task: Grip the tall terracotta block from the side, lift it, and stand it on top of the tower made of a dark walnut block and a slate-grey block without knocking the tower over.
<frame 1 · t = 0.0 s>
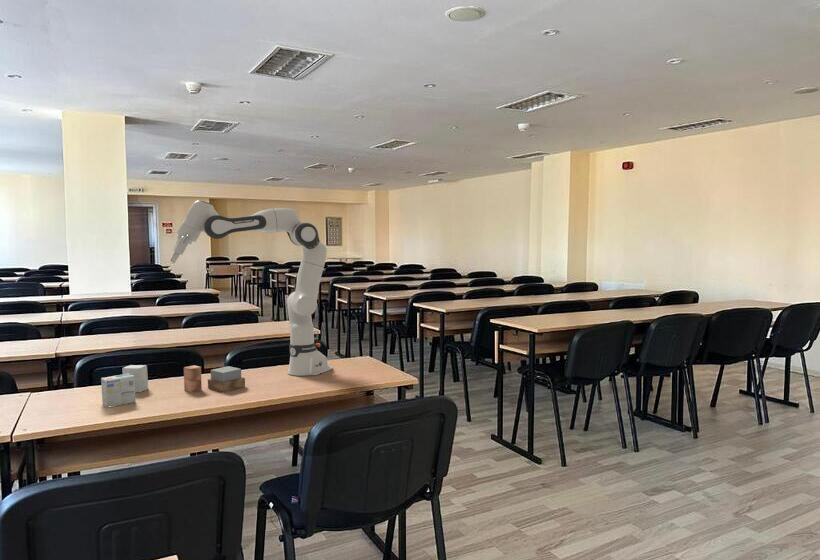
hand: (172, 262, 239), 54 cm above the table, tool tilted 30°, fingers open, 8 cm apart
walnut base block: (226, 388, 239), on the table, touching grey top block
small box: (135, 391, 235), on the table
grey top block: (226, 378, 239), point 4 cm above the table, touching walnut base block
light bulb box: (119, 404, 217), on the table
terracotta block: (193, 390, 235), on the table
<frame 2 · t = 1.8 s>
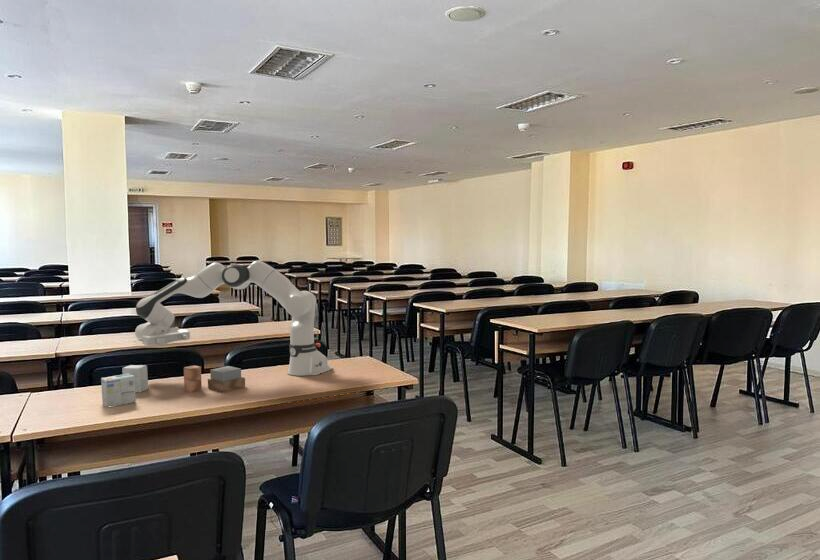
hand: (175, 339, 241), 20 cm above the table, tool horizontal, fingers open, 8 cm apart
nothing on the table moved.
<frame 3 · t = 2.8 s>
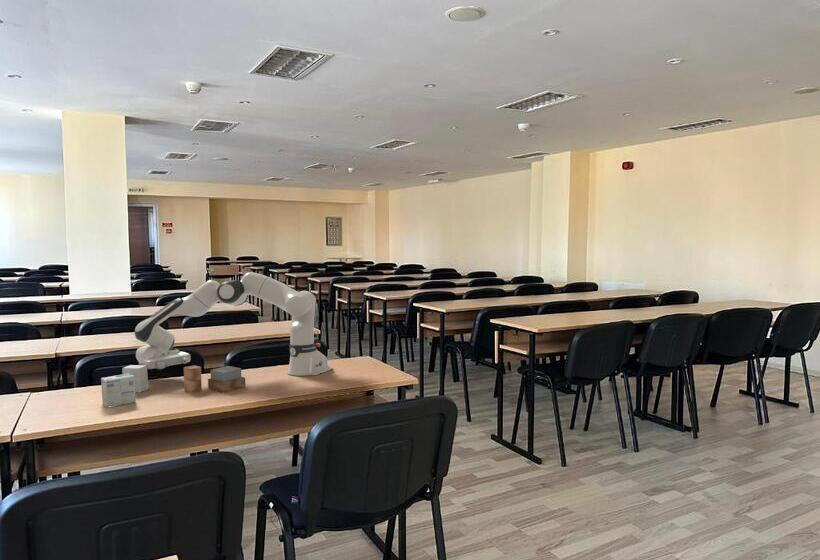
hand: (176, 363, 242), 10 cm above the table, tool horizontal, fingers open, 8 cm apart
nothing on the table moved.
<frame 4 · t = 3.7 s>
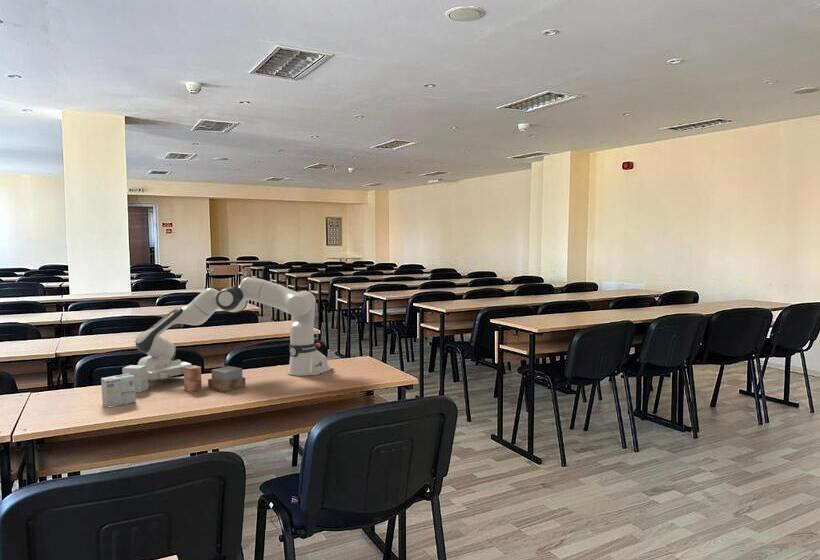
hand: (178, 373, 242), 5 cm above the table, tool horizontal, fingers open, 8 cm apart
nothing on the table moved.
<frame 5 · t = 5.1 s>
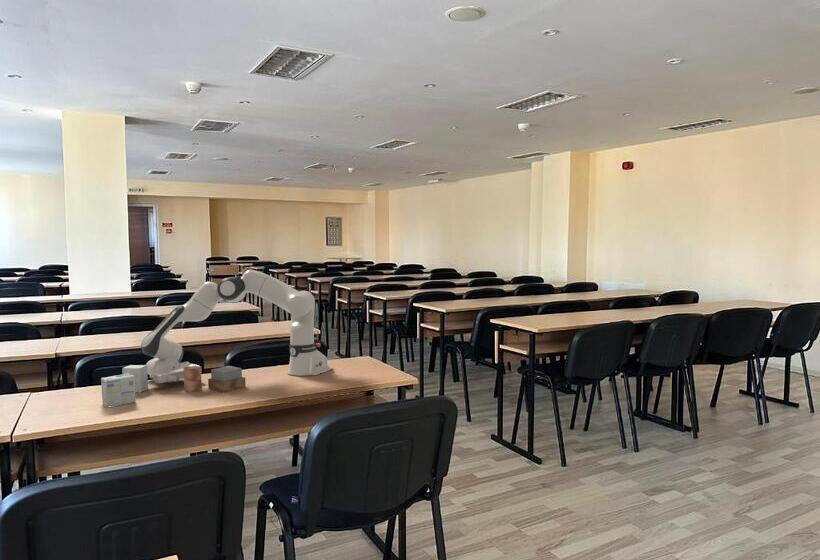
hand: (187, 376, 238), 5 cm above the table, tool horizontal, fingers open, 8 cm apart
nothing on the table moved.
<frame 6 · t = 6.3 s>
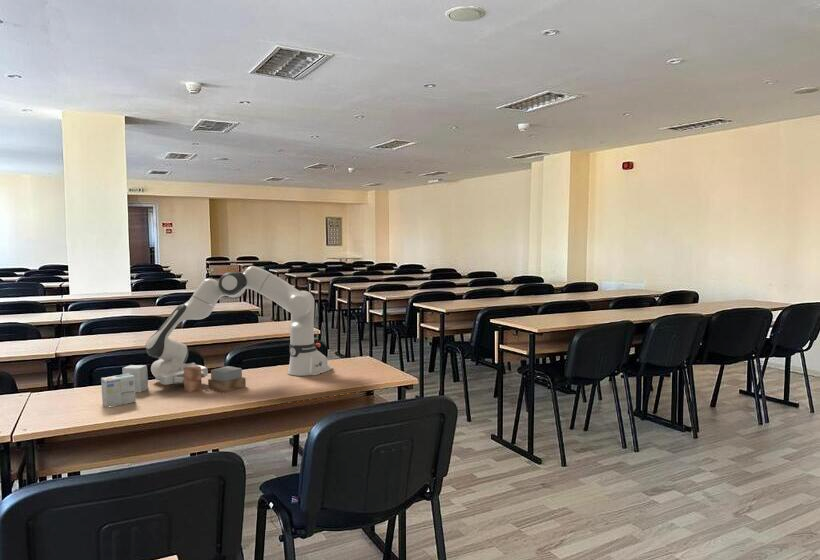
hand: (193, 377, 235), 5 cm above the table, tool horizontal, fingers open, 8 cm apart
nothing on the table moved.
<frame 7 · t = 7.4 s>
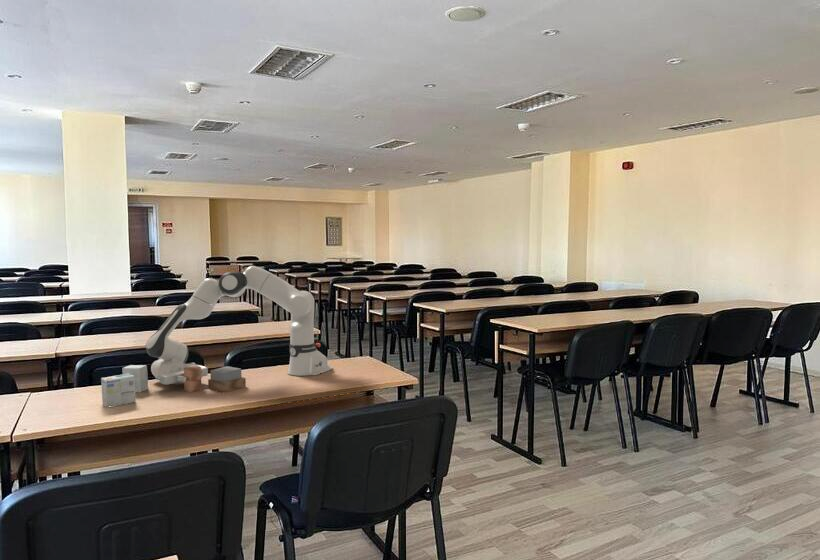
hand: (193, 377, 234), 6 cm above the table, tool horizontal, fingers closed on terracotta block, 5 cm apart
terracotta block: (193, 390, 235), on the table, touching gripper
everything else where it was.
when the fingers open (15 cm above the table, at t = 14.0 s): terracotta block drops 2 cm, resting on grey top block.
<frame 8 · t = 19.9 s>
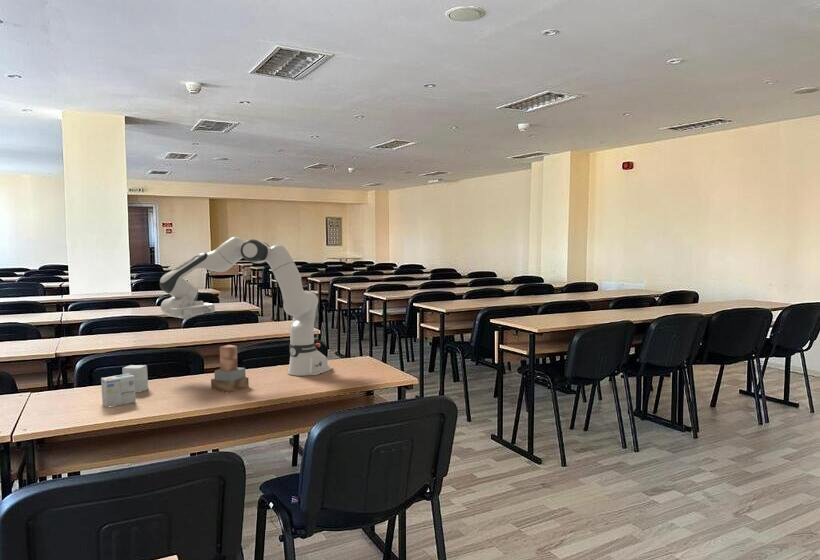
hand: (201, 311, 247), 32 cm above the table, tool horizontal, fingers open, 8 cm apart
walnut base block: (230, 388, 239), on the table, touching grey top block
grey top block: (230, 378, 239), point 4 cm above the table, touching terracotta block, walnut base block
terracotta block: (228, 369, 239), point 8 cm above the table, touching grey top block
everything else where it was.
at the end: terracotta block 0.4 cm off-centre on the grey top block, point 4.1 cm above the grey top block's base; grey top block 0.4 cm off-centre on the walnut base block, point 4.5 cm above the walnut base block's base; terracotta block tilted 1° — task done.
